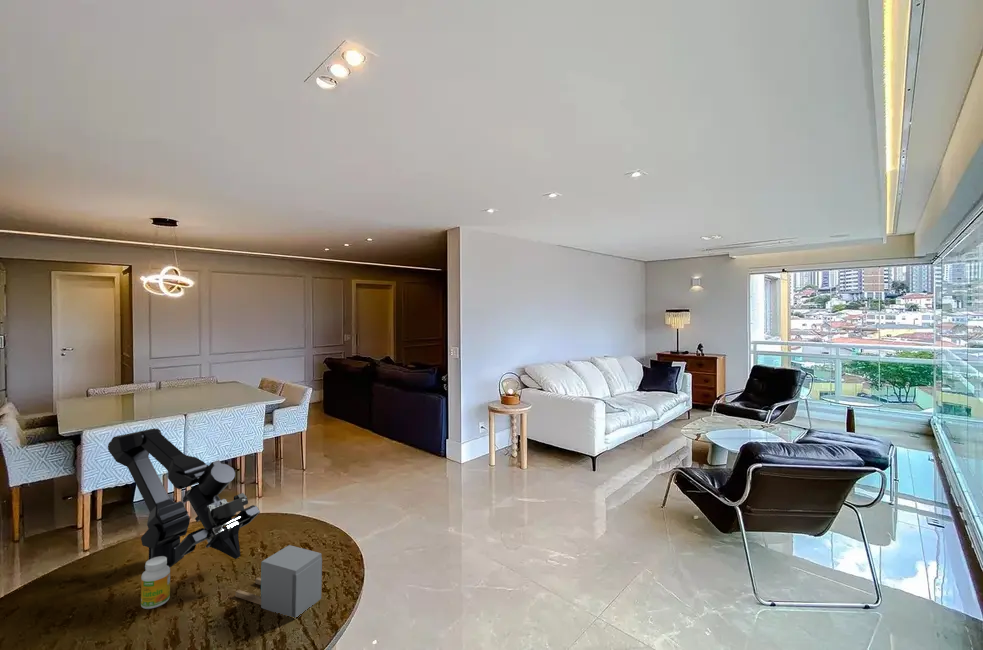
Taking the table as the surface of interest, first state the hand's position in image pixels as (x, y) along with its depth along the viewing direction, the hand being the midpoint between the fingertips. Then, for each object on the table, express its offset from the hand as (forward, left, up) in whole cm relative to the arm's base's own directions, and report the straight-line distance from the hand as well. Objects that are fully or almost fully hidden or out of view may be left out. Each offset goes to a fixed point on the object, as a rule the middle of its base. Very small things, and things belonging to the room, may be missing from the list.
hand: (238, 557), depth 109 cm
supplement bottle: (-15, -7, -7) cm, 18 cm away
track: (+7, -3, -7) cm, 10 cm away
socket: (+16, -6, -7) cm, 19 cm away
